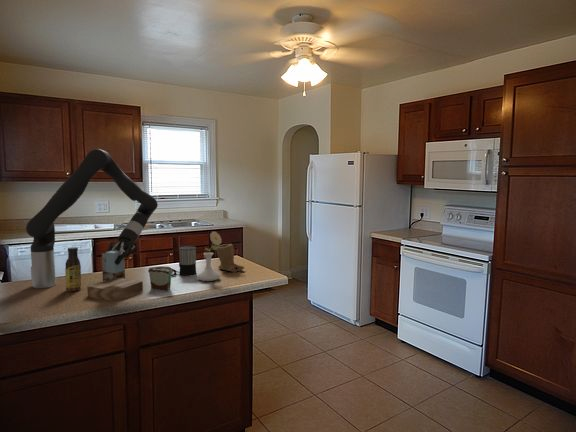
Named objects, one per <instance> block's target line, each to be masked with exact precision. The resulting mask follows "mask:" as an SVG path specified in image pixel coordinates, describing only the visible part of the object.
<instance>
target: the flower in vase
mask: <svg viewBox="0 0 576 432" xmlns="http://www.w3.org/2000/svg"><path fill="white" fill-rule="evenodd" d="M209 238H210V241H211V247H210V248H207V247H206V246H205V247H204V250H205V251H208V252H204V253H203V256H204V257H205V262H206V265H205V268H204V269H203V270H202V271H201V272H199V274H198V275H197V277H196V278H197V280H198V281H202V282H212V281H217V280H219V279H220V277H221V275H220V274H219V272H217V271H216V270H215V269H214V268H213V267H212V264H211V263H212V256H213V255H214V252H211V250H213V251H216V250H217V249H218V247H217V246H220V245H222V240H223V239H222V237H221V235H220V234H219V233H218V232H217V231H211V233H210V234H209Z"/></svg>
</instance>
